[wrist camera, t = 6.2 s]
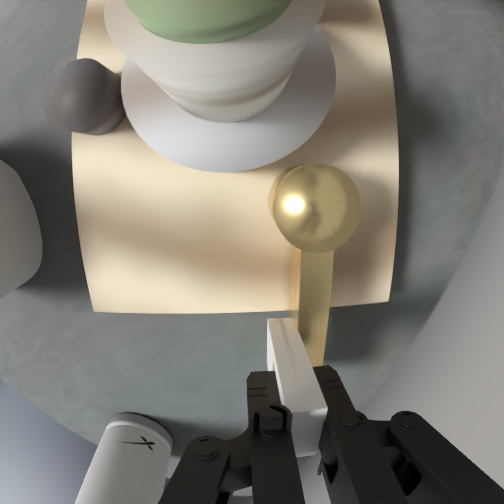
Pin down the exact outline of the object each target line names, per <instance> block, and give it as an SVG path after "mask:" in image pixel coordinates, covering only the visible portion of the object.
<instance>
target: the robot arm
mask: <svg viewBox="0 0 504 504" xmlns="http://www.w3.org/2000/svg"><path fill="white" fill-rule="evenodd" d="M267 366H268V371H260V372H251V373H250V375H249V376H248V378H247V404H248V423H249V425H248V428H247V430H246V431H245V432H244V433H243V434H242V435H240V436H239V437H236V438H234V439H230V440H226V441H223V440H222V439H220V438H217V437H214V436H203V437H198V438H196V439H195V440H193V441H191V442H190V444H189V445H188V446H187V448H186V450H185V452H184V454H183V456H182V458H181V460H180V462H179V464H178V466H177V468H176V470H175V472H174V473H173V475H172V477H171V479H170V481H169V483H168V485H167V487H166V489H165V491H164V493H163V495H162V496H161V498H160V500H159V502H158V504H230V501H231V498H232V495H233V492H234V491H236V490H240V489H243V488H246V487H250V486H252V495H253V504H305V500H304V495H303V489H302V484H301V479H300V474H299V470H298V464H297V459H296V457H303V456H311V455H317V453H318V449H320V452H321V455H322V458H321V461H320V465H319V468H318V475H321V472H323V476H324V479H325V483H326V487H327V490H328V494H329V497H330V501H331V504H504V489H503V488H502V487H500V486H499V485H498V484H497V483H496V482H495V481H493V480H492V479H491V478H490V477H489V476H488V475H487V474H485V473H484V472H483V471H482V470H481V469H480V468H479V467H477V466H476V465H475V464H474V463H473V462H472V461H471V460H469V459H468V458H467V457H466V456H465V455H464V454H463V453H462V452H460V451H459V450H458V449H457V448H456V447H455V446H454V445H452V444H451V443H450V442H449V441H448V440H447V439H446V438H445V437H443V436H442V435H441V434H440V433H439V432H438V431H437V430H436V429H434V428H433V427H432V426H431V425H430V424H429V423H428V422H426V421H425V420H424V419H423V418H422V417H421V416H420V415H418V414H416V413H415V412H410V411H401V412H398V413H396V414H395V415H394V416H392V418H391V420H390V421H375V420H369V419H367V417H366V416H365V415H364V414H363V413H361V412H359V411H356V410H355V408H354V406H353V404H352V402H351V400H350V398H349V396H348V394H347V392H346V390H345V387H344V385H343V383H342V381H341V379H340V377H339V375H338V373H337V371H336V370H334V369H333V368H332V367H331V366H329V365H325V366H316V367H312V365H311V362H310V360H309V357H308V354H307V352H306V349H305V347H304V344H303V341H302V339H301V336H300V334H299V332H297V329H296V326H295V324H294V321H293V318H275V319H267Z"/></svg>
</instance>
